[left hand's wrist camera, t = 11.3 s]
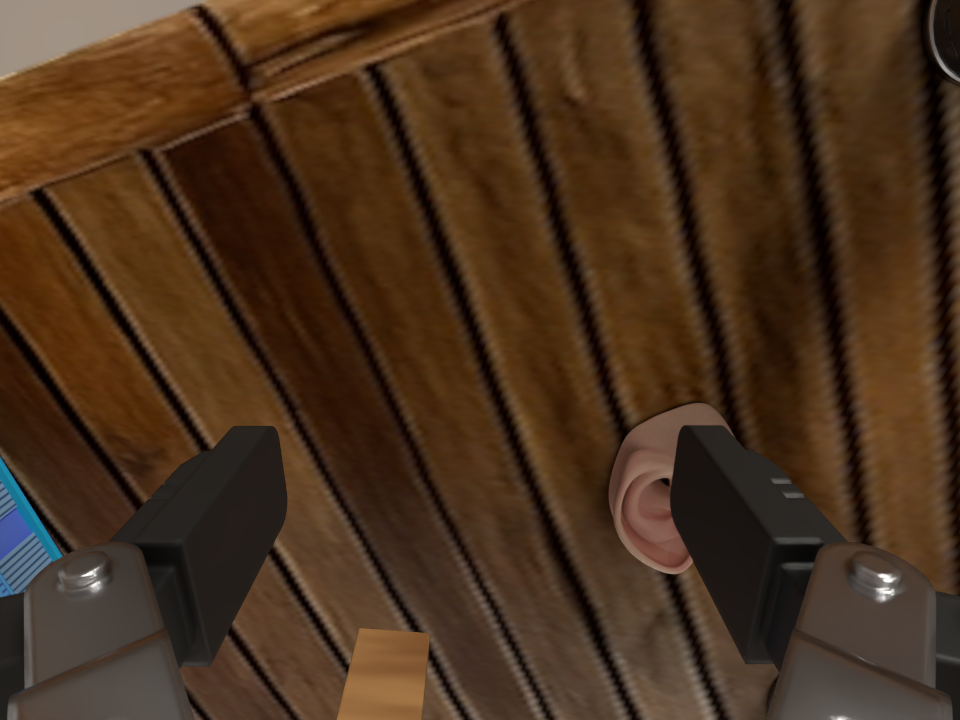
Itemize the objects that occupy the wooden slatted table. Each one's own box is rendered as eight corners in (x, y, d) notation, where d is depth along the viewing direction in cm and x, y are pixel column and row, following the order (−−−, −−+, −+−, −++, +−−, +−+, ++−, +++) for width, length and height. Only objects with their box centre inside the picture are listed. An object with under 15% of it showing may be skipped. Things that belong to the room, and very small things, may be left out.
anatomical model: (700, 402, 41) (800, 488, 44) (682, 380, 45) (775, 461, 48) (575, 518, 45) (674, 591, 47) (567, 489, 48) (660, 559, 51)
